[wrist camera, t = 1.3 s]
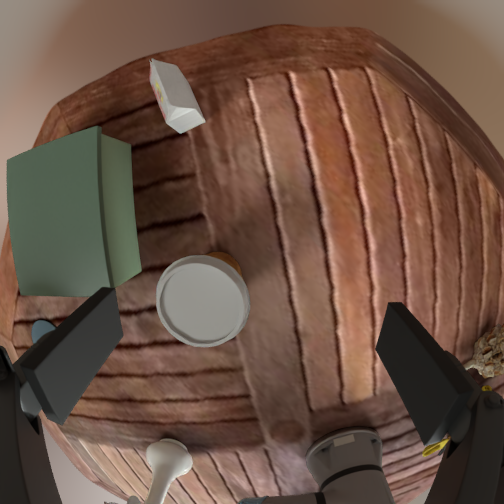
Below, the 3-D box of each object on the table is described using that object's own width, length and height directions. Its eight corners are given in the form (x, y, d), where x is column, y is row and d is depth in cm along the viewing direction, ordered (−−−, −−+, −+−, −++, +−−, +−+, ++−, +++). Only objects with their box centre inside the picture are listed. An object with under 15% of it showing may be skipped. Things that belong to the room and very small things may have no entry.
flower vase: (178, 475, 47) (153, 561, 23) (125, 424, 44) (74, 515, 20) (227, 468, 46) (213, 567, 21) (174, 412, 43) (130, 526, 18)
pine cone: (509, 303, 37) (541, 321, 27) (506, 342, 39) (533, 362, 29) (427, 351, 39) (456, 382, 29) (427, 390, 41) (450, 422, 31)
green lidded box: (145, 274, 38) (112, 297, 29) (59, 277, 39) (20, 295, 29) (134, 140, 35) (97, 125, 25) (48, 163, 36) (6, 159, 26)
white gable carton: (188, 82, 33) (166, 50, 23) (205, 122, 34) (186, 97, 24) (164, 94, 34) (135, 66, 24) (180, 133, 35) (153, 113, 25)
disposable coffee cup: (171, 258, 38) (134, 283, 26) (233, 226, 37) (219, 239, 25) (204, 318, 39) (183, 363, 27) (266, 290, 38) (267, 330, 26)
